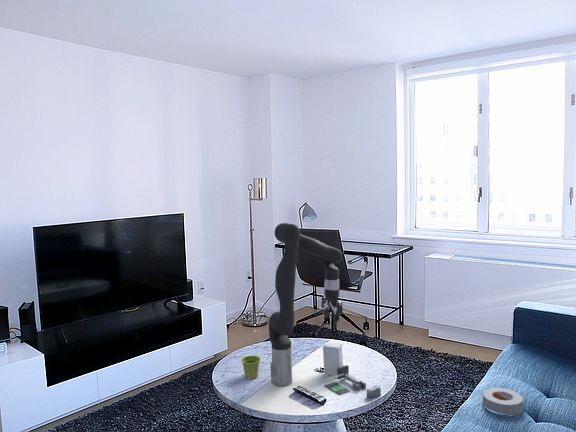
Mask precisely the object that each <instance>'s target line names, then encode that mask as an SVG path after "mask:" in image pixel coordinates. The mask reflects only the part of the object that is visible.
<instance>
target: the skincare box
mask: <svg viewBox="0 0 576 432" xmlns="http://www.w3.org/2000/svg"><path fill="white" fill-rule="evenodd" d="M342 345H343V344H342V343H341V342H340V343H339V342H329V341H327V342H325V344H323V346H322V353H323V355H322V356H323V372H324V376H330V377H333V376H336V375H338V374H337V368H340V367H343V366H344V363H343V362H344V361H343V360H344V358H343V346H342Z"/></svg>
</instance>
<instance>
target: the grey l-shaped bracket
mask: <svg viewBox="0 0 576 432" xmlns="http://www.w3.org/2000/svg"><path fill="white" fill-rule="evenodd" d="M349 367H350V366H349V365H348V364H347V365H343V367H340V368H337V374H338V375H336V376H330V377H327V378H325V381H330V380H333V379H336V378H337V380H342V379H345V380H346V381H349V382H350V383H352V384H353V383H354V382H355V383H356V384H358V385H361V381H362V380H361V379H358V378H356V377H354V376H352V375H351V374H349V370H350V368H349ZM360 380H361V381H360Z"/></svg>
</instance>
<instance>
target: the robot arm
mask: <svg viewBox="0 0 576 432" xmlns="http://www.w3.org/2000/svg"><path fill="white" fill-rule="evenodd" d="M274 237H275V239H276V240H277V241H279V242H280V243H283V244H284V248H283V249H284V250H283V256H282V257H281V259H280V262H279V263H278V266H277V268H276V271H275V281H274V283H275V284H274V286H275V291H276V294H277V297H278V301H279V311H275V312H272V314H271V315H270V316H269V320H268V335H269V341H270V344H271V362H270V382H271V383H272V384H273V385H274V386H276V387H286V386H290V385H291V384H292V383H293V372H292V371H293V369H292V368H293V362H292V358H293V357H292V341H291V339H290V338H289V336H288V335H290V334H291V333H292V331H293V330H294V327H295V326H294V325H295V311H294V309H295V306H294V304H295V301H294V300H295V289H296V288H295V286H296V277H297V276H296V274H297V272H296V271H297V270H296V269H297V259H298V252H299V248H300V249H301V250H305V251H306V252H308V253H310V254H311V255H314V256H316V257H318V258H321V259H322V265H323V268H324V271H325V272H324V283H323V284H324V287H323V289H324V291H323V294H324V295H323V296H322V297H321V303H320V304H321V308H322V309H323V310H324V311H323V312H324V314H323V315H324V318H329V313H330V311H329V309H330V308H331V309H332V311H333V312H334V322H336V323H337V322H340V321H339V320H340V314H343V301H339V300H338V298H340V270H339V268H338V267H337V266H335V264H339V263H341V261H342V260H343V253H342V252H341V250H340V249H339V248H336V247H334V246H330V245H328V244H326V243H324V242H321V241H320V240H318V239H315V238H312V237H309V236H307V235H304V234H302V233H301V230H300V228H299V226H298V225H296V224H295V223H294V224H293V223H288V222H283V223H282V222H281V223H279V224H277V226H276V227H275V229H274Z"/></svg>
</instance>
